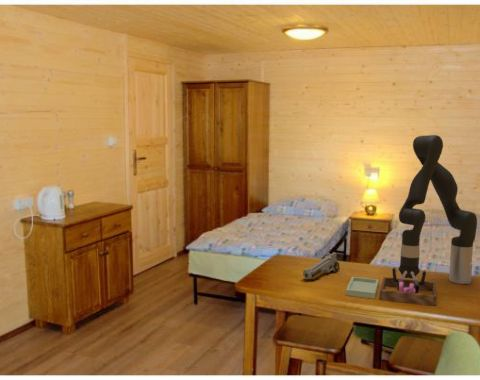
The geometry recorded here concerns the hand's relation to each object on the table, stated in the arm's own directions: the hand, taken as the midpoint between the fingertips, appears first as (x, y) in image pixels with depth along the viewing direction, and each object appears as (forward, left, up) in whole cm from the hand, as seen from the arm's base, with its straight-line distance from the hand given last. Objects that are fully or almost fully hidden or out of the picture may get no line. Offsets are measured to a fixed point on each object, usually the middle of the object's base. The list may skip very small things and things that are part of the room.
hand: (407, 292), depth 220 cm
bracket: (0, 0, -1) cm, 1 cm away
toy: (+40, -14, -2) cm, 42 cm away
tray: (+19, 0, -1) cm, 19 cm away
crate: (0, 0, -1) cm, 1 cm away
